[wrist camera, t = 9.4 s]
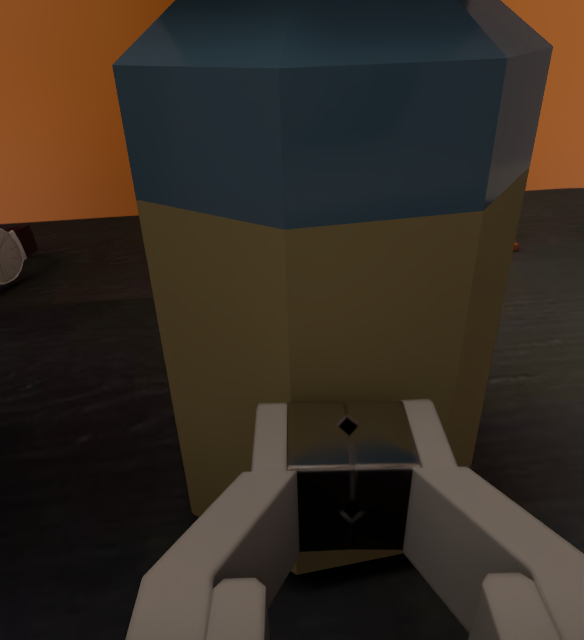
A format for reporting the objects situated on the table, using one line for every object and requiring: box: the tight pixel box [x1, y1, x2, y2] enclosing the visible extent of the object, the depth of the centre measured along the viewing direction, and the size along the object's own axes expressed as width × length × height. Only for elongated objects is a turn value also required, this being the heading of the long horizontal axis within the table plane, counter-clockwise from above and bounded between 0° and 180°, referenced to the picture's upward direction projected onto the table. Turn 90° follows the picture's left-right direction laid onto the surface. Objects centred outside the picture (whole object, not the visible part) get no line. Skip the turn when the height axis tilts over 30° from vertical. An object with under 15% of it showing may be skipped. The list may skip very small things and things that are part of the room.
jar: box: [112, 0, 553, 575], centre depth 13 cm, size 9×9×15 cm
